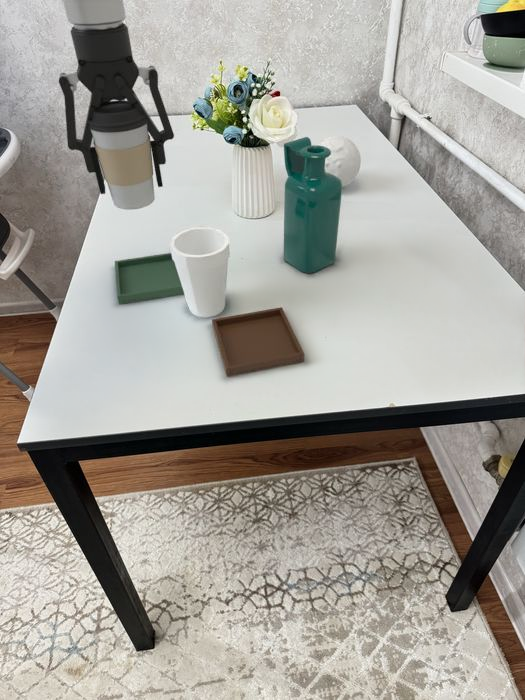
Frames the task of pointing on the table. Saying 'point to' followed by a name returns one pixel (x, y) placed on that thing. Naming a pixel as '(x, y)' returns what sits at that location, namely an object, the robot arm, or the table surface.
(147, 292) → the sage tray
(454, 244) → the table surface
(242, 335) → the walnut tray
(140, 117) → the coffee cup
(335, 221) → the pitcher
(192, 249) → the foam cup
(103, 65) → the robot arm
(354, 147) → the decorative ball
